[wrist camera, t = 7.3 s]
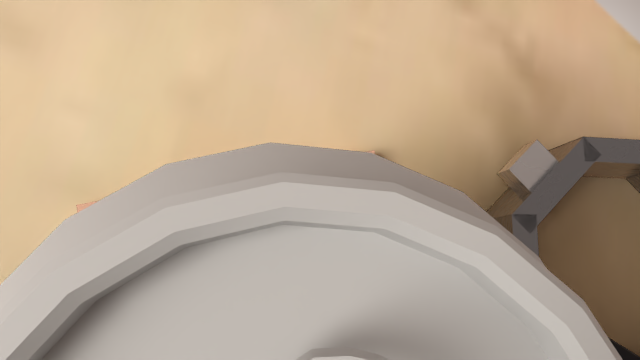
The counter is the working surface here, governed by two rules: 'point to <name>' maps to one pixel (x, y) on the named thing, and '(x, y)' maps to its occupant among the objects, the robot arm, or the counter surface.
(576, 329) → the can
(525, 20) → the counter surface
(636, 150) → the collar
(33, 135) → the counter surface
